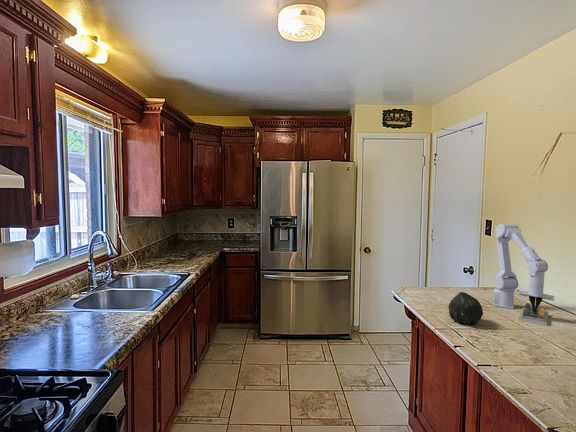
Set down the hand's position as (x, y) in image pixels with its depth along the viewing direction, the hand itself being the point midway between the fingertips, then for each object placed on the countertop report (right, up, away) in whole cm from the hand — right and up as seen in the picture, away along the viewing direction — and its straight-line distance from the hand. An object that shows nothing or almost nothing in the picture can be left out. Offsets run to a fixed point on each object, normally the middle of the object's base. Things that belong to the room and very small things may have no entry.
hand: (534, 312), depth 181 cm
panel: (0, -3, 0) cm, 3 cm away
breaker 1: (+1, -1, +6) cm, 6 cm away
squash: (-37, -3, -6) cm, 38 cm away
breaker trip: (+2, -1, -2) cm, 3 cm away
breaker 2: (-6, -1, -2) cm, 7 cm away
